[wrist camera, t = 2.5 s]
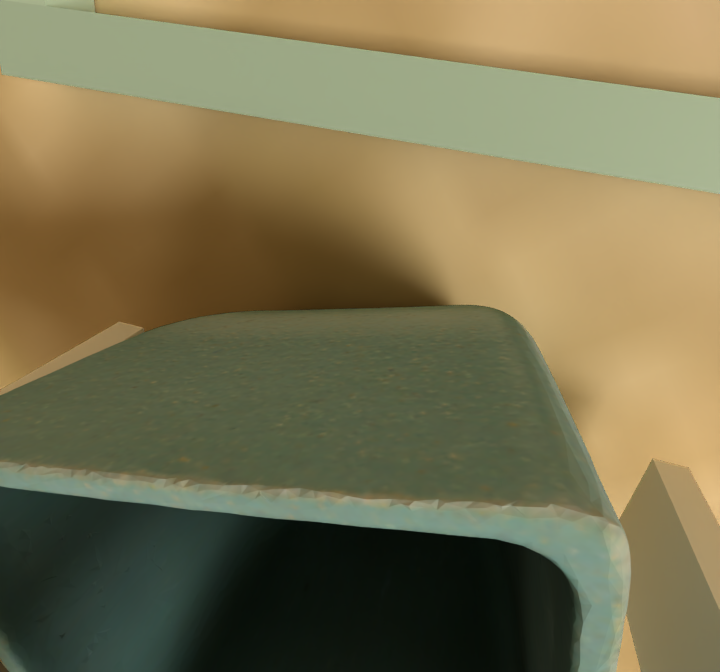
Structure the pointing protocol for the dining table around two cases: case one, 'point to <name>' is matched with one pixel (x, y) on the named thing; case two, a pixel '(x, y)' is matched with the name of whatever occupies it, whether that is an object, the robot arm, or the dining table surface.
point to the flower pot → (307, 503)
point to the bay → (372, 92)
